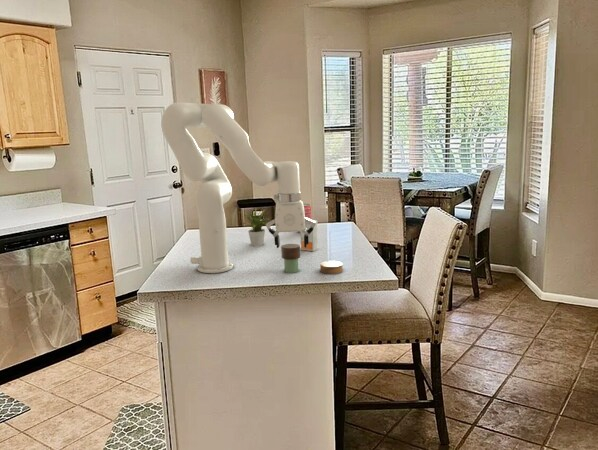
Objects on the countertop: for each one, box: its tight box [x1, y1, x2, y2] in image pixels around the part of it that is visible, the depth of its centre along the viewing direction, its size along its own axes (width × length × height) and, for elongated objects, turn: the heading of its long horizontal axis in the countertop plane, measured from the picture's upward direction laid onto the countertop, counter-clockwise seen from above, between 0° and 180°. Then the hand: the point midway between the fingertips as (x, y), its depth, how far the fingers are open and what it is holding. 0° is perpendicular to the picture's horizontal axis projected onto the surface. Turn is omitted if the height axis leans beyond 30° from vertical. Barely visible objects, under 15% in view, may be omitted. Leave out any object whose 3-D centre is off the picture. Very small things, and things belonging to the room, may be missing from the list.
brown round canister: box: [280, 243, 301, 260], centre depth 177 cm, size 7×7×4 cm
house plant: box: [239, 206, 271, 247], centre depth 216 cm, size 14×14×16 cm
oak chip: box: [319, 260, 343, 275], centre depth 177 cm, size 8×8×2 cm
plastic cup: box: [283, 258, 299, 274], centre depth 178 cm, size 5×5×5 cm
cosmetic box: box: [299, 219, 319, 252], centre depth 207 cm, size 6×4×12 cm
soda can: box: [297, 203, 312, 234], centre depth 240 cm, size 7×7×13 cm
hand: (292, 246), depth 177 cm, fingers open, 9 cm apart
